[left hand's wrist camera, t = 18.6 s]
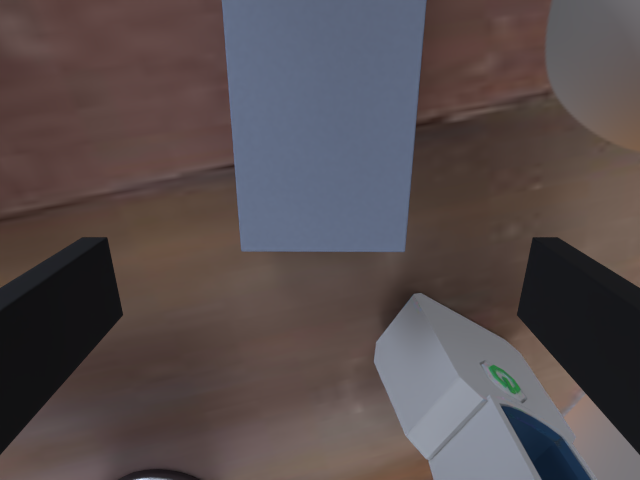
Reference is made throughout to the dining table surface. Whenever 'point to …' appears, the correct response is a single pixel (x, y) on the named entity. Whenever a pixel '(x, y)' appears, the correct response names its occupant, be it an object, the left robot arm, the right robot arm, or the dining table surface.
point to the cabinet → (323, 121)
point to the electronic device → (472, 400)
